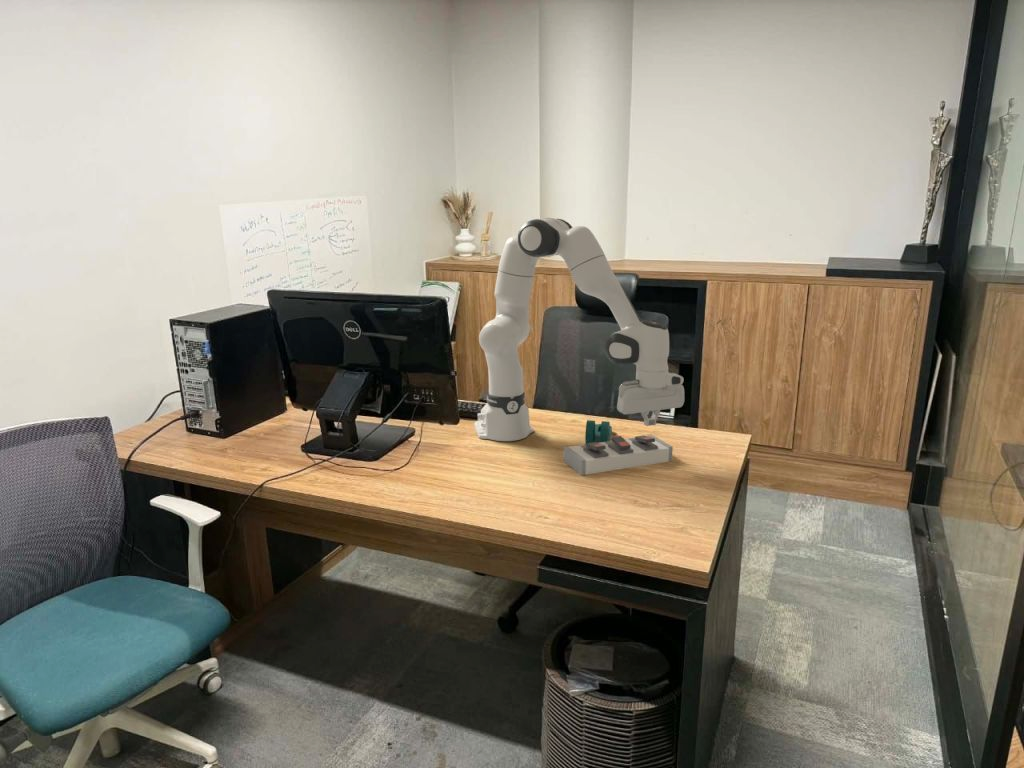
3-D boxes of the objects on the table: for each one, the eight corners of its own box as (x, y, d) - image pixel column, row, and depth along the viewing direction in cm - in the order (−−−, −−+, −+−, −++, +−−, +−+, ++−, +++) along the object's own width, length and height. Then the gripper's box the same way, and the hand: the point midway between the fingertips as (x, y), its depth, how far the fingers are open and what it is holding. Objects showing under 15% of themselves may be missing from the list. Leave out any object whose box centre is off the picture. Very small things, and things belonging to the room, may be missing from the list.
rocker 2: (611, 440, 203) (611, 436, 203) (620, 438, 204) (620, 435, 204) (621, 449, 198) (621, 446, 198) (630, 448, 199) (630, 445, 199)
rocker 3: (635, 439, 206) (635, 436, 206) (644, 438, 207) (644, 435, 207) (645, 443, 200) (645, 439, 200) (655, 441, 201) (654, 438, 201)
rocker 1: (586, 446, 201) (586, 443, 200) (595, 445, 202) (595, 441, 201) (596, 450, 195) (595, 446, 195) (605, 449, 196) (605, 445, 196)
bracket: (607, 450, 213) (607, 425, 211) (585, 448, 215) (585, 424, 213) (612, 431, 230) (613, 408, 228) (592, 429, 232) (592, 407, 230)
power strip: (563, 460, 204) (563, 445, 203) (650, 447, 214) (650, 432, 213) (581, 475, 193) (581, 459, 192) (672, 460, 203) (672, 445, 202)
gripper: (624, 384, 190) (623, 432, 194) (688, 377, 197) (686, 424, 201) (613, 379, 196) (612, 426, 200) (676, 372, 203) (673, 417, 207)
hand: (649, 425), depth 200 cm, fingers closed
